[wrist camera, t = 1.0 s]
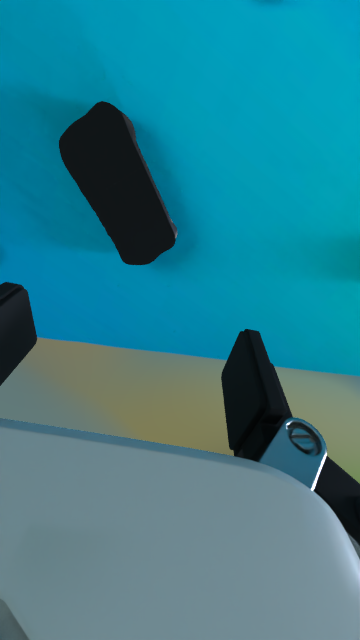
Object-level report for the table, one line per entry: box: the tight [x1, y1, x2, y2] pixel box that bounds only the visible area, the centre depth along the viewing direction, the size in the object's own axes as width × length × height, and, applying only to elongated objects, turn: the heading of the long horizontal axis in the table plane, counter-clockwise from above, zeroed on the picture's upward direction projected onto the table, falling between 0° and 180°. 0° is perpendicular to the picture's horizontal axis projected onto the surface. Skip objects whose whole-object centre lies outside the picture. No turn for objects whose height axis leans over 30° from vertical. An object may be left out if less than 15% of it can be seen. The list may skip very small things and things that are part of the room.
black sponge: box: [59, 101, 177, 265], centre depth 30 cm, size 16×8×4 cm, turn 24°
